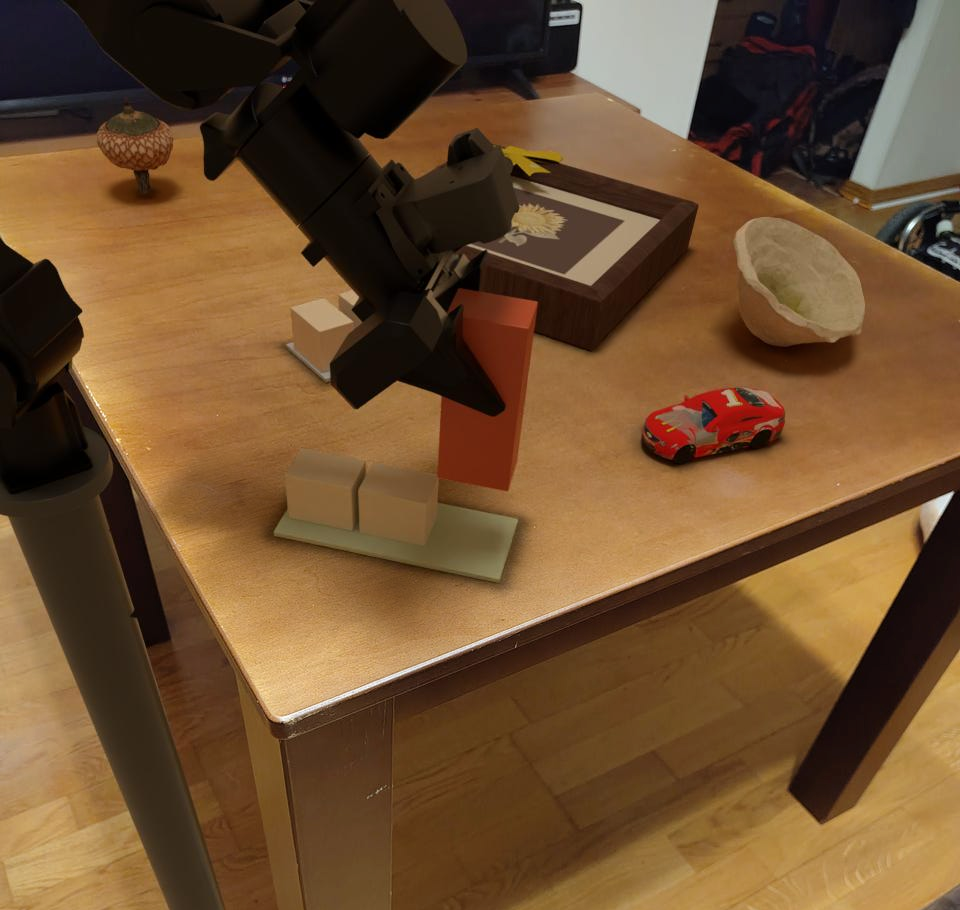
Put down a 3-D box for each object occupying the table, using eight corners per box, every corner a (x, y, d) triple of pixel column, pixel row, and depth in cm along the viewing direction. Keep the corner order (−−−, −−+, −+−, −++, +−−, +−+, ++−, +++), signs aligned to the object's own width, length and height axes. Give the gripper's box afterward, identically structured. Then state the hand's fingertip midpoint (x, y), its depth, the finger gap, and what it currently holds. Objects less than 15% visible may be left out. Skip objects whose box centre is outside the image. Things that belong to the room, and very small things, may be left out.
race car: (657, 470, 74) (668, 430, 71) (627, 434, 78) (636, 394, 75) (788, 445, 78) (804, 406, 75) (754, 411, 81) (768, 372, 78)
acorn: (149, 174, 107) (132, 79, 100) (198, 194, 104) (183, 98, 97) (93, 193, 102) (70, 95, 95) (142, 214, 99) (122, 116, 92)
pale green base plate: (273, 535, 65) (267, 488, 62) (307, 479, 70) (303, 432, 67) (499, 583, 64) (505, 536, 60) (517, 522, 68) (524, 476, 65)
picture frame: (345, 206, 89) (487, 126, 107) (347, 271, 94) (482, 183, 112) (601, 290, 81) (706, 188, 100) (589, 355, 86) (691, 246, 105)
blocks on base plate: (325, 382, 79) (323, 337, 76) (286, 348, 83) (281, 303, 80) (467, 336, 87) (470, 293, 84) (425, 305, 90) (426, 263, 87)
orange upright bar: (437, 478, 61) (445, 313, 52) (448, 449, 63) (458, 287, 55) (508, 491, 61) (528, 328, 52) (517, 462, 63) (538, 301, 54)
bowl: (805, 394, 84) (845, 292, 77) (682, 336, 90) (708, 236, 83) (875, 342, 92) (917, 245, 85) (758, 291, 98) (788, 197, 91)
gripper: (386, 156, 39) (590, 415, 46) (473, 44, 52) (623, 262, 59) (238, 296, 46) (437, 505, 53) (347, 167, 58) (496, 350, 65)
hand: (505, 396), depth 57 cm, fingers closed on orange upright bar, 3 cm apart
